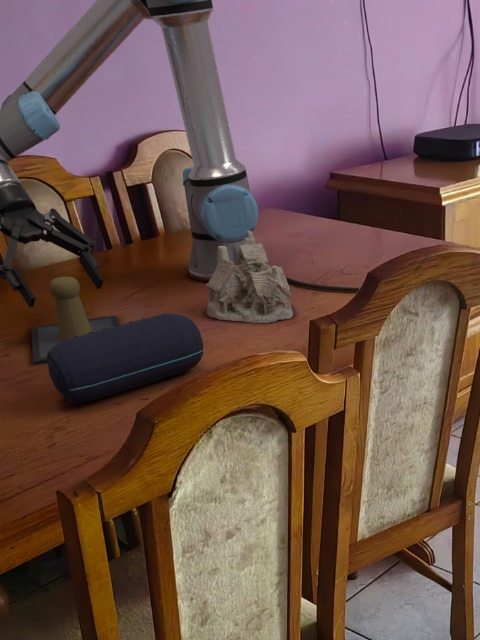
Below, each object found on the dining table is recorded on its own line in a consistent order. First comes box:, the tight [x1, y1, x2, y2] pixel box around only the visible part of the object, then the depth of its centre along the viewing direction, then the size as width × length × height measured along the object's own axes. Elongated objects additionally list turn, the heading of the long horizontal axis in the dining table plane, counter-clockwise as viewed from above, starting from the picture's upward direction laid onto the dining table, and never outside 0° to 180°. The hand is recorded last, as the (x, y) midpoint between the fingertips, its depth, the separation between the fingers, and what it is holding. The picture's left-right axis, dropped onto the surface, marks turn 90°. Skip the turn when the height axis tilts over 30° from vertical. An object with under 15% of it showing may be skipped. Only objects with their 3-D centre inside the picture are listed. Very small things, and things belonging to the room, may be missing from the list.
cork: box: [48, 275, 92, 341], centre depth 155 cm, size 6×6×11 cm
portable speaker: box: [47, 313, 204, 405], centre depth 136 cm, size 25×10×10 cm, turn 133°
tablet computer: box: [30, 315, 120, 365], centre depth 158 cm, size 16×20×1 cm
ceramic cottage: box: [206, 231, 294, 324], centre depth 165 cm, size 16×16×15 cm
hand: (67, 293), depth 153 cm, fingers open, 13 cm apart
